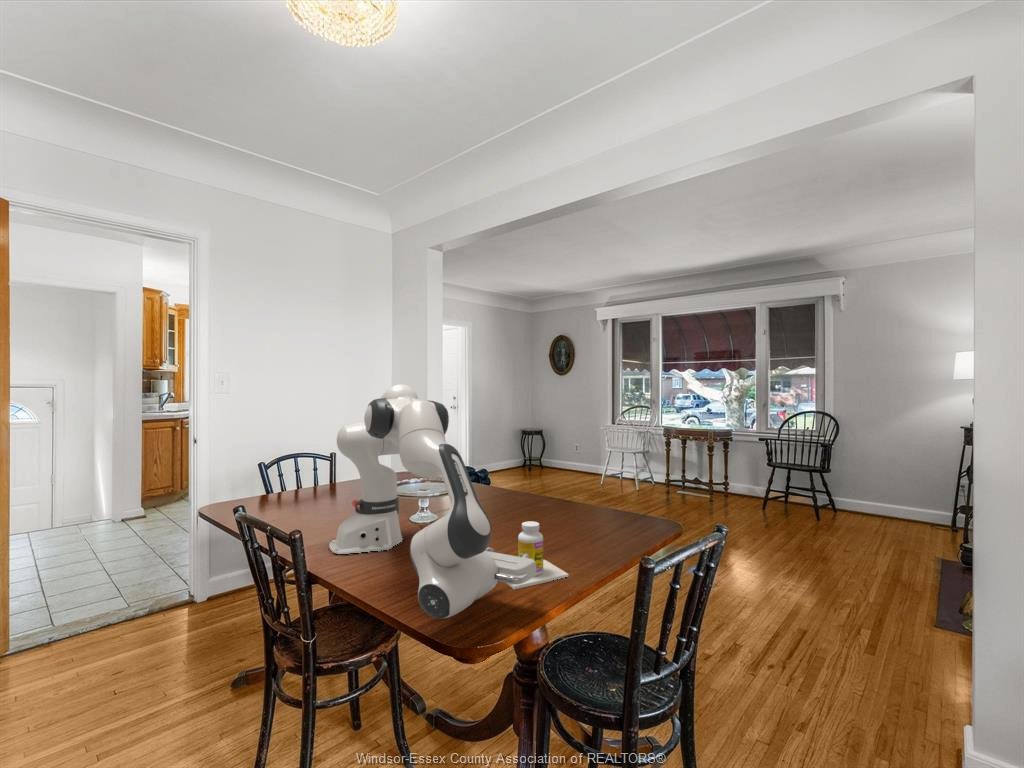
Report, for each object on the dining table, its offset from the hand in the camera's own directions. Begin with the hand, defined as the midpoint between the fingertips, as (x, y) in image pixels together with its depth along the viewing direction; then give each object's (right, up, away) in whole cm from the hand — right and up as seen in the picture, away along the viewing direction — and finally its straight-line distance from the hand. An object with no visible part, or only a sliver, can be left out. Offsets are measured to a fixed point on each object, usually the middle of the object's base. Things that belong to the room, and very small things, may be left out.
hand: (508, 553), depth 119 cm
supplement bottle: (+6, -9, +11) cm, 15 cm away
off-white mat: (+6, -9, +11) cm, 15 cm away
